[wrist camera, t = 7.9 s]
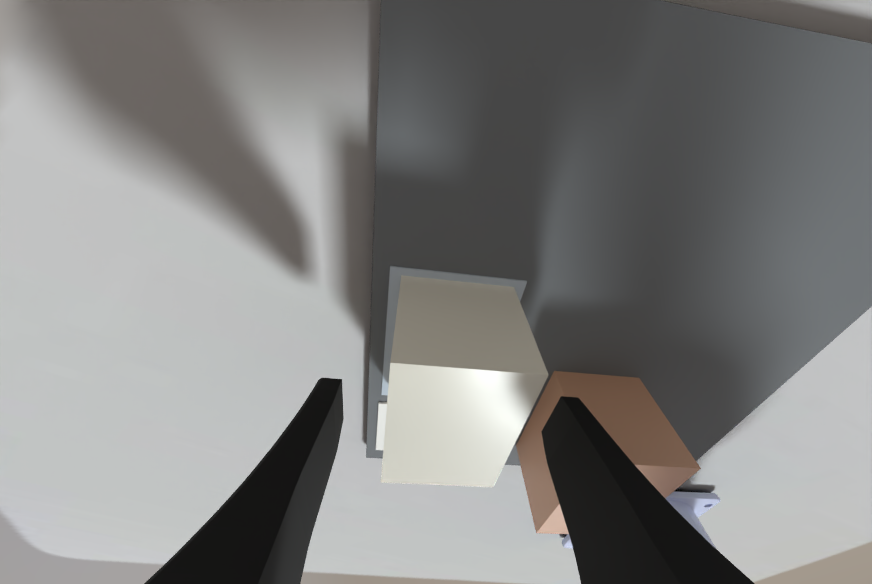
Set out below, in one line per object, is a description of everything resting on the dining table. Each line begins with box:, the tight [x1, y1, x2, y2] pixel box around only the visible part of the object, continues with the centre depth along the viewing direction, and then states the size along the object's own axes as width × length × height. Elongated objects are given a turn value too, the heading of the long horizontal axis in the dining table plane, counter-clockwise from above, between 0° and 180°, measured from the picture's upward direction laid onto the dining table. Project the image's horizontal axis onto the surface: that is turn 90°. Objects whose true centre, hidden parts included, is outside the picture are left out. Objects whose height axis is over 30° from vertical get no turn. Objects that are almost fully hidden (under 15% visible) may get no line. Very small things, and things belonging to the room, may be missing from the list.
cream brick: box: [381, 275, 548, 487], centre depth 11 cm, size 6×4×4 cm, turn 172°
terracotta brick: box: [516, 371, 701, 534], centre depth 14 cm, size 6×4×4 cm, turn 172°
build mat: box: [366, 0, 872, 465], centre depth 13 cm, size 20×19×1 cm
